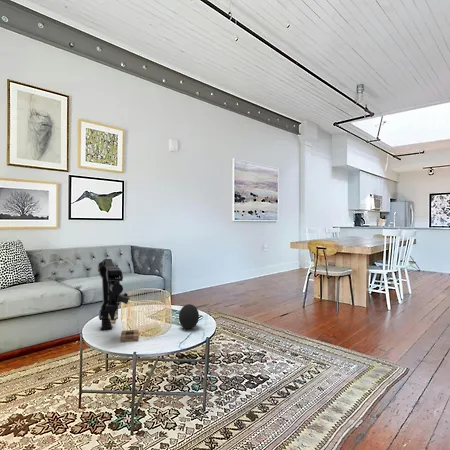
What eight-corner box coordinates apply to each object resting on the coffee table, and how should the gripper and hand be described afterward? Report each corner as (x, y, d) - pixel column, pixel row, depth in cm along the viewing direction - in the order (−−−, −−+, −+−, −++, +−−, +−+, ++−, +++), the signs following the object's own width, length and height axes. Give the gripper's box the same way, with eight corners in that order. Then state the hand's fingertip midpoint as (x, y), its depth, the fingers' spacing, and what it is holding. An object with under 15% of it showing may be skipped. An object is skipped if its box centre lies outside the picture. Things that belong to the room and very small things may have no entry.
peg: (108, 322, 182) (109, 306, 182) (118, 322, 183) (118, 306, 183) (107, 325, 177) (107, 309, 177) (117, 325, 178) (117, 308, 178)
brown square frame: (121, 335, 186) (121, 330, 186) (138, 334, 188) (138, 329, 188) (120, 342, 177) (120, 336, 177) (138, 341, 179) (138, 335, 179)
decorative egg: (200, 325, 206) (200, 302, 205) (196, 332, 193) (197, 307, 193) (181, 324, 207) (181, 301, 206) (176, 331, 195) (176, 306, 194)
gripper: (127, 294, 173) (127, 323, 173) (129, 286, 191) (129, 312, 191) (105, 294, 170) (105, 324, 170) (109, 287, 188) (109, 313, 189)
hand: (113, 318), depth 180 cm, fingers closed on peg, 5 cm apart
